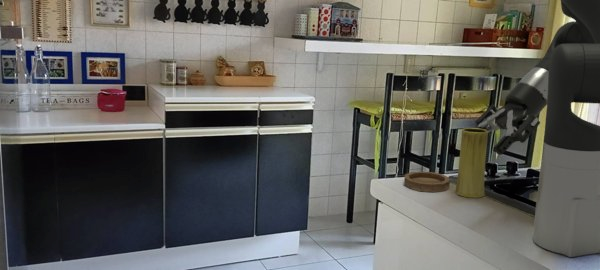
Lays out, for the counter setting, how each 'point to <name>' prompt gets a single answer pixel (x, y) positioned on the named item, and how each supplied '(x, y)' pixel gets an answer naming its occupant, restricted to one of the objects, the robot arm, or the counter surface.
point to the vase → (472, 163)
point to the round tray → (426, 181)
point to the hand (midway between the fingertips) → (483, 147)
